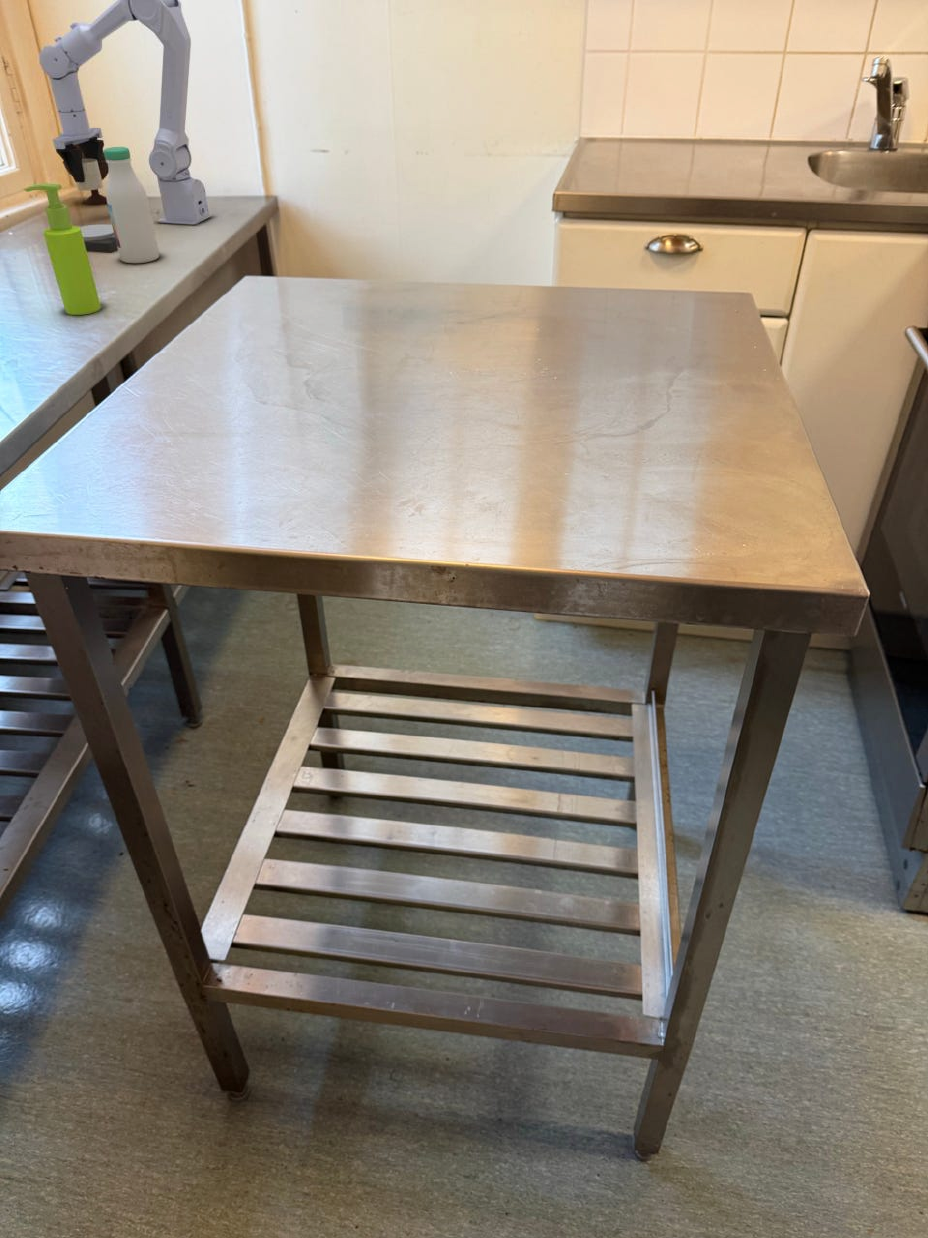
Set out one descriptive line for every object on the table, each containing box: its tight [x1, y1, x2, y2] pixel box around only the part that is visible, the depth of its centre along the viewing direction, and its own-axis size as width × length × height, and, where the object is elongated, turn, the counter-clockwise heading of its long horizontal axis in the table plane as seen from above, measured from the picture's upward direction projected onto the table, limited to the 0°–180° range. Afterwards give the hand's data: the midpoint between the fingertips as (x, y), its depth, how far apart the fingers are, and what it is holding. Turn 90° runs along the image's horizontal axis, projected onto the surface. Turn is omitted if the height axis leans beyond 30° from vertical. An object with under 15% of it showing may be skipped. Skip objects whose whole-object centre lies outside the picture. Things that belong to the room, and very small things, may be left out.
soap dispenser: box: [24, 182, 102, 316], centre depth 150 cm, size 6×7×20 cm
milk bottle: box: [103, 146, 160, 264], centre depth 174 cm, size 8×8×20 cm
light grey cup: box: [75, 159, 104, 191], centre depth 201 cm, size 6×6×6 cm
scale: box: [79, 224, 118, 254], centre depth 189 cm, size 13×11×3 cm
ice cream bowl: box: [62, 144, 109, 206], centre depth 216 cm, size 11×11×15 cm
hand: (88, 178), depth 202 cm, fingers closed on light grey cup, 5 cm apart
